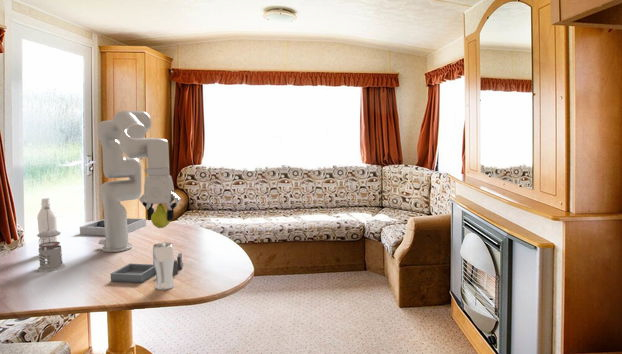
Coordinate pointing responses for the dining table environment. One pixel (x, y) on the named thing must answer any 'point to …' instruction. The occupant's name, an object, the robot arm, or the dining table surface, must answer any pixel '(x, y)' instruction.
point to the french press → (50, 251)
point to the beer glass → (163, 265)
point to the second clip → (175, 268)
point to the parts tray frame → (94, 230)
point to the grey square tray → (133, 273)
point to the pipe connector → (101, 224)
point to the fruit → (160, 217)
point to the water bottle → (43, 221)
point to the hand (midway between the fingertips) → (160, 219)
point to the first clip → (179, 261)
